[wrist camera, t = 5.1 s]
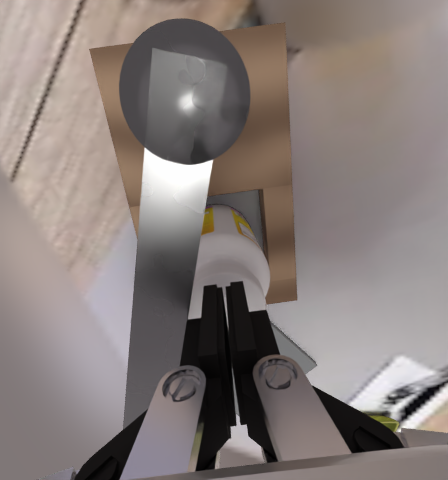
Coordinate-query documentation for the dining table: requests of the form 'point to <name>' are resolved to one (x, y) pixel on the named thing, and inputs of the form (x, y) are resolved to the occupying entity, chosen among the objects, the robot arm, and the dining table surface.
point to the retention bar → (174, 179)
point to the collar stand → (239, 154)
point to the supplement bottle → (229, 259)
